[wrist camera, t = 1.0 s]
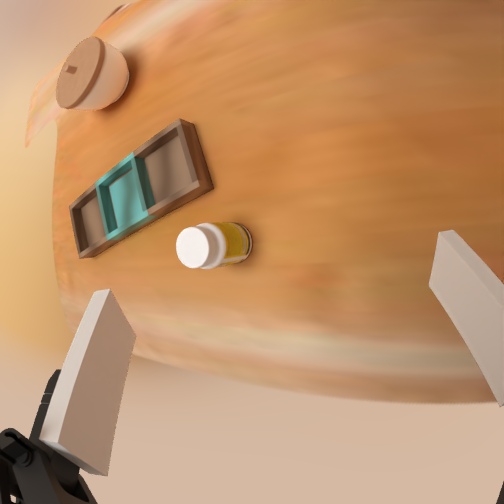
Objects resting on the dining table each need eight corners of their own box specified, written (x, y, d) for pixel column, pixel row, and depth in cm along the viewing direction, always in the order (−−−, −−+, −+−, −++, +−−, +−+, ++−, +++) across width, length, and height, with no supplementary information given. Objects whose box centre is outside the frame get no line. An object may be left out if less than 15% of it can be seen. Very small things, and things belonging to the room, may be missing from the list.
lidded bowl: (87, 116, 50) (39, 105, 40) (108, 55, 47) (64, 38, 37) (125, 121, 45) (70, 106, 35) (150, 51, 42) (101, 27, 32)
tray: (93, 257, 50) (79, 258, 48) (82, 206, 51) (69, 206, 49) (213, 188, 38) (199, 186, 36) (193, 124, 39) (179, 118, 37)
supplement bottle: (233, 214, 38) (190, 212, 30) (260, 241, 36) (221, 246, 29) (211, 244, 39) (165, 248, 32) (236, 271, 38) (193, 282, 30)
